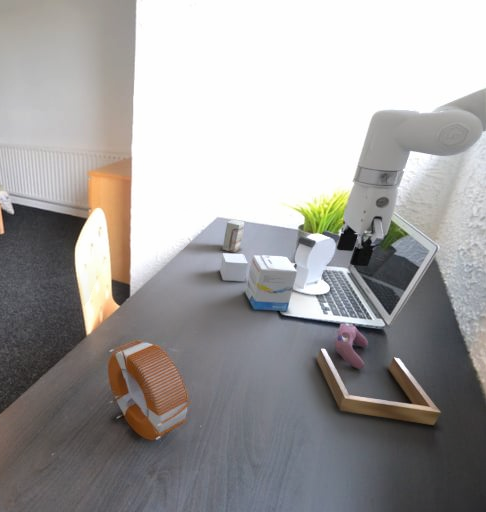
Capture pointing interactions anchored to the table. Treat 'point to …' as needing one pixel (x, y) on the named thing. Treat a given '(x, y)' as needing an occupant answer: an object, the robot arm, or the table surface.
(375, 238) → the robot arm
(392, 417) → the bay
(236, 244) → the cosmetics bottle
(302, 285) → the white curved upright piece
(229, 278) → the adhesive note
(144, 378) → the coil
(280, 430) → the table surface
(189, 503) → the table surface
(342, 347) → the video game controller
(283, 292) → the ink box
